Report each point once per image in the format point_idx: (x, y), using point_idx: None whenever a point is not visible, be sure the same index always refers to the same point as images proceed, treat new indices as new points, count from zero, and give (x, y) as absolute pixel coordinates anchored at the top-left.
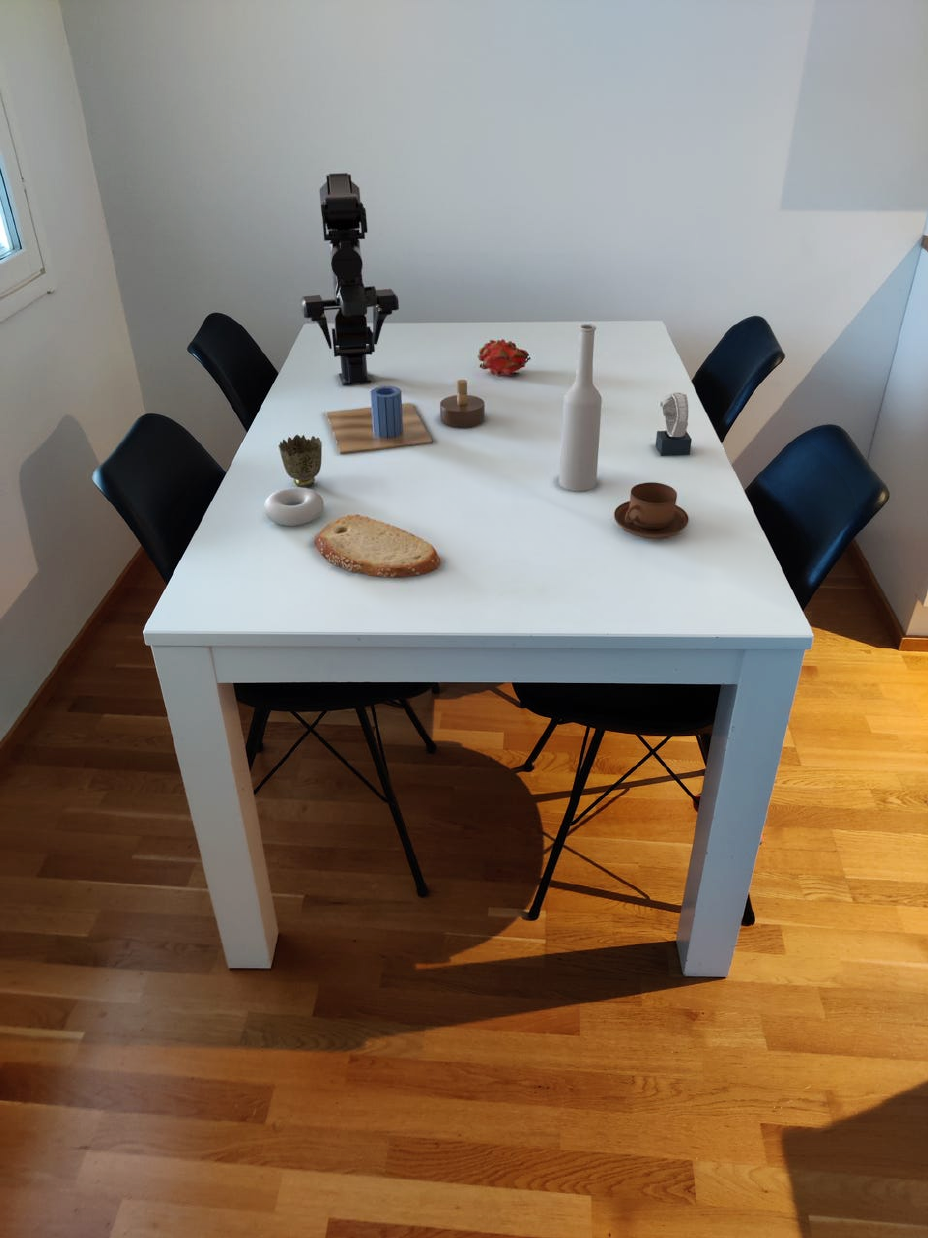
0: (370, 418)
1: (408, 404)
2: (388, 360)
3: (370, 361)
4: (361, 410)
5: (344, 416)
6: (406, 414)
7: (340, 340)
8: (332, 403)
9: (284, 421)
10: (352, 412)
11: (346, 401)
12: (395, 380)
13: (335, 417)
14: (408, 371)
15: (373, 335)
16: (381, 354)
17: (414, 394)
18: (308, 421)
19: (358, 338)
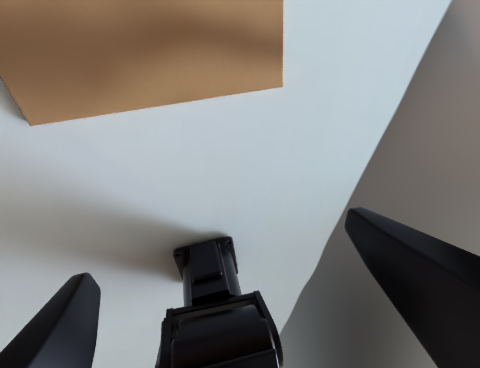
0: (151, 6)
1: (36, 115)
2: (150, 326)
3: None
4: (186, 86)
5: (236, 44)
6: (11, 19)
7: (256, 327)
8: (258, 153)
9: (381, 54)
10: (212, 74)
11: (226, 162)
12: (120, 262)
13: (262, 42)
14: (100, 297)
15: (90, 340)
16: None
17: (47, 195)
18: (330, 41)
19: (202, 343)
